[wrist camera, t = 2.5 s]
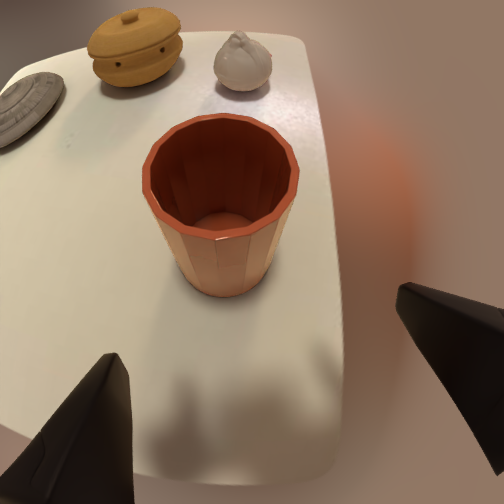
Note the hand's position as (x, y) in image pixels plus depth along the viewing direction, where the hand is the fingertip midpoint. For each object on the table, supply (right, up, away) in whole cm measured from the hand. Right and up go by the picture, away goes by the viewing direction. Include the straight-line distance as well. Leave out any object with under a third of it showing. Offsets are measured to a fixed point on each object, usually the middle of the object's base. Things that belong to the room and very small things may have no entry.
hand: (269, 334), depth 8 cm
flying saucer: (-33, +22, +21) cm, 45 cm away
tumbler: (-3, +2, +15) cm, 15 cm away
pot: (-15, +26, +23) cm, 38 cm away
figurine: (-2, +22, +23) cm, 32 cm away
